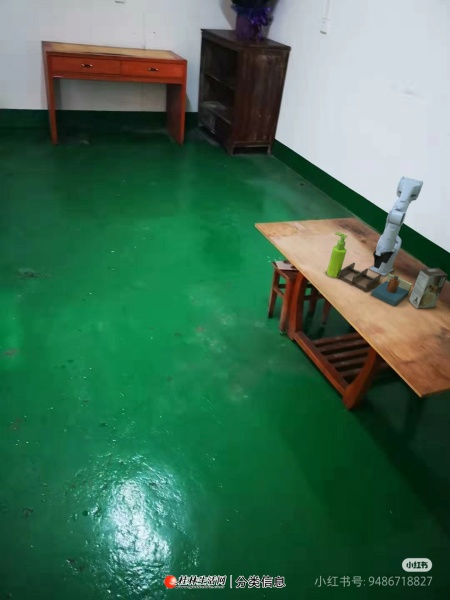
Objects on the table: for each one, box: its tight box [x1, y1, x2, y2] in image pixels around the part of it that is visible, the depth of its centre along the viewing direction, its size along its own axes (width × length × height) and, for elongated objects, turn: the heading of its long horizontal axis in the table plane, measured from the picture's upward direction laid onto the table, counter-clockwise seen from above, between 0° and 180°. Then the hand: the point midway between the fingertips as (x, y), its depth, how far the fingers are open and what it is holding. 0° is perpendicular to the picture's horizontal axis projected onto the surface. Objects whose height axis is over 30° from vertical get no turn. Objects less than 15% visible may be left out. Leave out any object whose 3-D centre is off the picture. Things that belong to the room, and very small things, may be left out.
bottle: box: [387, 274, 400, 293], centre depth 197 cm, size 4×4×7 cm
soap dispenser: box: [326, 231, 348, 279], centre depth 205 cm, size 6×7×20 cm
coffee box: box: [408, 267, 449, 309], centre depth 192 cm, size 9×6×16 cm
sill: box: [370, 273, 413, 307], centre depth 198 cm, size 14×11×6 cm
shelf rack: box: [337, 262, 383, 293], centre depth 207 cm, size 13×14×4 cm
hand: (380, 265), depth 202 cm, fingers open, 7 cm apart
